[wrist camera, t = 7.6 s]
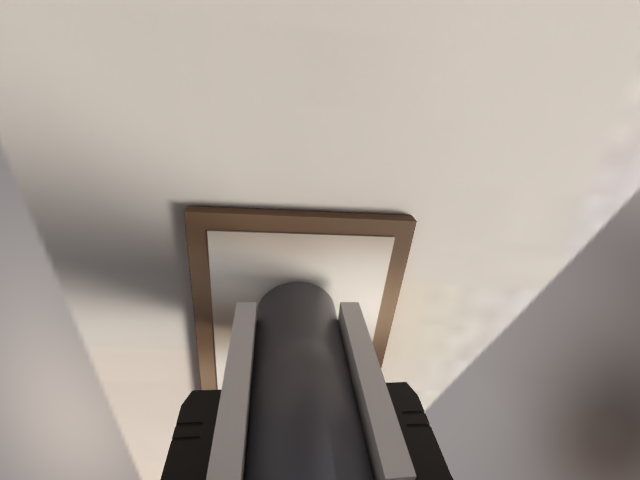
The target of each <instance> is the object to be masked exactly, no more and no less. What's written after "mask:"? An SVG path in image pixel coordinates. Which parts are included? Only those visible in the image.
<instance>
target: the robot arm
mask: <svg viewBox="0 0 640 480" xmlns="http://www.w3.org/2000/svg"><path fill="white" fill-rule="evenodd" d="M256 324H257V302H237V303H236V309H235V315H234V320H233V326H232V332H231V338H230V344H229V349H228V355H227V361H226V367H225V372H224V378H223V384H222V390H194V391H192V392H191V393H190V395H189V396H188V397H187V399H186V400H185V401H184V403H183V404H182V406H181V409H180V412H179V416H178V419H177V424H176V427H175V430H174V434H173V437H172V441H171V444H170V448H169V451H168V455H167V459H166V462H165V466H164V469H163V473H162V476H161V480H244V469H245V457H246V445H247V433H248V421H249V409H250V397H251V385H252V373H253V361H254V349H255V336H256ZM338 324H339V328H340V332H341V337H342V341H343V345H344V350H345V354H346V359H347V363H348V367H349V372H350V376H351V380H352V385H353V389H354V394H355V398H356V402H357V407H358V411H359V415H360V420H361V424H362V428H363V433H364V437H365V442H366V446H367V450H368V455H369V459H370V463H371V468H372V472H373V477H374V480H453V478H452V476H451V474H450V472H449V470H448V467H447V465H446V462H445V460H444V457H443V455H442V453H441V450H440V448H439V445H438V443H437V441H436V438H435V436H434V434H433V431H432V428H431V427H430V426H429V421H428V419H427V416H426V414H424V409H423V407H422V404H421V402H420V400H419V397H418V395H417V394H416V393H415V392H414V390H413V389H412V388H411V387H410V386H409V385H408V384H407V382H398V383H385V380H384V377H383V374H382V371H381V368H380V365H379V362H378V359H377V356H376V353H375V350H374V347H373V344H372V341H371V338H370V335H369V332H368V329H367V326H366V323H365V320H364V317H363V314H362V311H361V308H360V305H359V302H340V308H339V315H338Z"/></svg>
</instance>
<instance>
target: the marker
mask: <svg viewBox="0 0 640 480" xmlns="http://www.w3.org/2000/svg"><path fill="white" fill-rule="evenodd" d="M244 480H374V477H373V472H372V468H371V463H370V459H369V455H368V450H367V446H366V442H365V437H364V433H363V428H362V424H361V420H360V415H359V411H358V407H357V402H356V398H355V394H354V389H353V385H352V380H351V376H350V372H349V367H348V363H347V359H346V354H345V350H344V345H343V341H342V337H341V332H340V328H339V324H338V319H337V315H336V310H335V306H334V303H333V300H332V298H331V297H330V295H329V294H328V293H327V292H326V291H325V290H324V289H322V288H320V287H319V286H317V285H314V284H311V283H307V282H289V283H285V284H281V285H279V286H277V287H275V288H273V289H272V290H270V291H269V292H268V293H266V294H265V296H264V297H263V298H262V299H261V301H260V303H259V305H258V308H257V324H256V336H255V349H254V361H253V373H252V385H251V397H250V409H249V421H248V433H247V445H246V457H245V469H244Z"/></svg>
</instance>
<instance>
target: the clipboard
mask: <svg viewBox="0 0 640 480" xmlns="http://www.w3.org/2000/svg"><path fill="white" fill-rule="evenodd" d="M184 217H185V227H186V237H187V247H188V257H189V268H190V278H191V288H192V298H193V308H194V318H195V329H196V339H197V349H198V359H199V369H200V379H201V389H202V390H222V384H223V378H224V372H225V367H226V361H227V355H228V349H229V344H230V338H231V332H232V326H233V320H234V315H235V309H236V303H237V302H257V308H258V305H259V303H260V301H261V299H262V298H263V297H264V296H265V294H266V293H268V292H269V291H270V290H272V289H273V288H275V287H277V286H279V285H281V284H285V283H289V282H307V283H311V284H314V285H317V286H319V287H320V288H322V289H324V290H325V291H326V292H327V293H328V294H329V295H330V297H331V298H332V300H333V303H334V306H335V310H336V315H337V319H338V315H339V308H340V302H359V305H360V308H361V311H362V314H363V317H364V320H365V323H366V326H367V329H368V332H369V335H370V338H371V341H372V344H373V347H374V350H375V353H376V356H377V359H378V362H379V365H380V368H381V367H382V363H383V358H384V354H385V350H386V346H387V342H388V338H389V334H390V329H391V325H392V321H393V317H394V313H395V309H396V305H397V301H398V296H399V292H400V288H401V284H402V280H403V276H404V272H405V268H406V263H407V259H408V255H409V251H410V247H411V243H412V239H413V234H414V230H415V226H416V222H417V221H416V220H415V219H414V218H413V217H412V215H390V214H366V213H343V212H320V211H297V210H273V209H250V208H227V207H204V206H187V208H186V210H185V211H184Z"/></svg>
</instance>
